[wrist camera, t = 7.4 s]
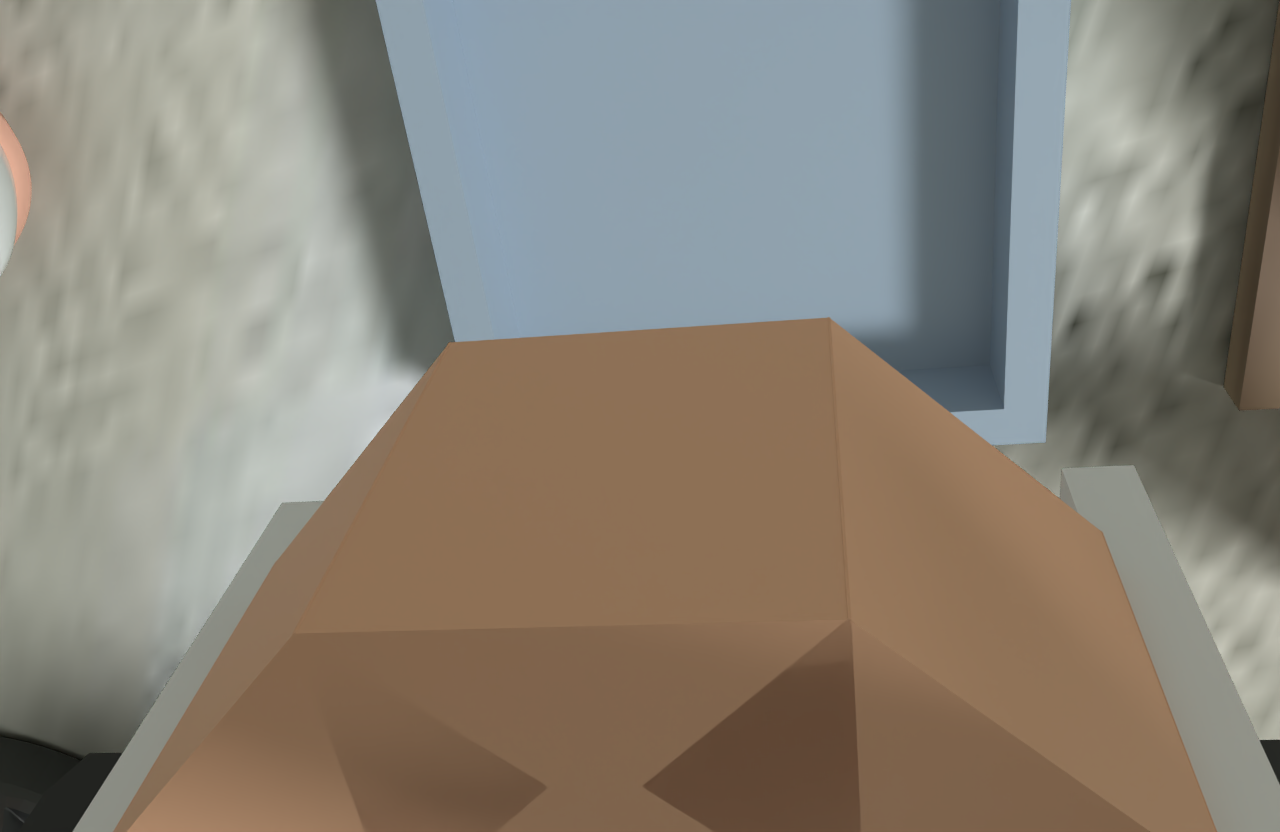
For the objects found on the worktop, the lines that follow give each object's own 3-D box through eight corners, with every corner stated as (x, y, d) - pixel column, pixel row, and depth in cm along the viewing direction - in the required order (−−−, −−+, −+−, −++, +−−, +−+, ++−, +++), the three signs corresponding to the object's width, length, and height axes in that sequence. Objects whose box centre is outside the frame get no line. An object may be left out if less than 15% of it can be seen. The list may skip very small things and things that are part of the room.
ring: (403, 917, 15) (294, 1259, 12) (202, 357, 11) (-53, 640, 8) (1066, 928, 14) (1155, 1315, 11) (1124, 297, 10) (1302, 607, 6)
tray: (508, 411, 33) (484, 470, 30) (392, -132, 26) (349, -115, 23) (1023, 381, 31) (1045, 442, 28) (1050, -220, 24) (1083, -212, 21)
